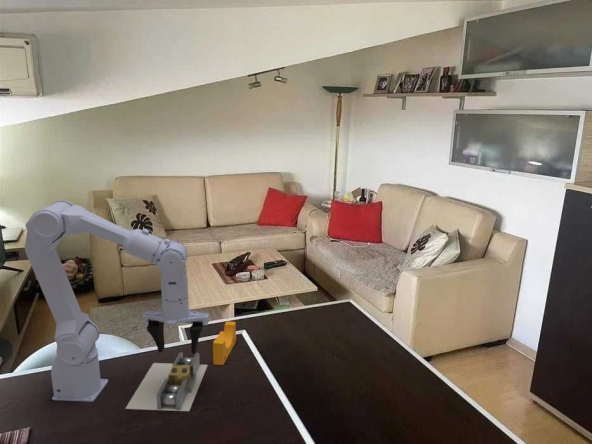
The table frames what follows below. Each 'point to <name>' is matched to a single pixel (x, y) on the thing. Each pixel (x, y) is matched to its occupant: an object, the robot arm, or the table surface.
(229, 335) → the pipe clamp
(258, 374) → the table surface
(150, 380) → the mat
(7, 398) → the table surface
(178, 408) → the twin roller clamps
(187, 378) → the tan knob cube
